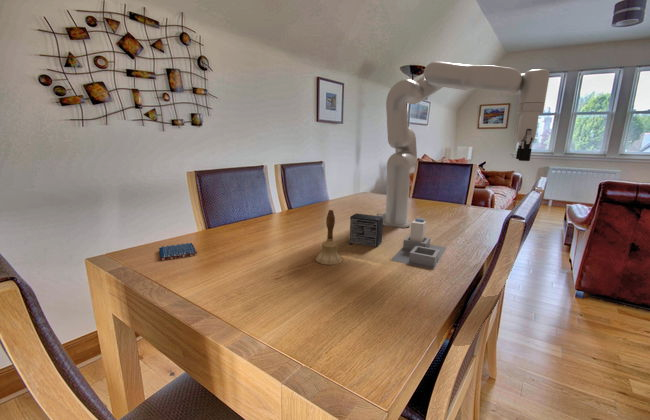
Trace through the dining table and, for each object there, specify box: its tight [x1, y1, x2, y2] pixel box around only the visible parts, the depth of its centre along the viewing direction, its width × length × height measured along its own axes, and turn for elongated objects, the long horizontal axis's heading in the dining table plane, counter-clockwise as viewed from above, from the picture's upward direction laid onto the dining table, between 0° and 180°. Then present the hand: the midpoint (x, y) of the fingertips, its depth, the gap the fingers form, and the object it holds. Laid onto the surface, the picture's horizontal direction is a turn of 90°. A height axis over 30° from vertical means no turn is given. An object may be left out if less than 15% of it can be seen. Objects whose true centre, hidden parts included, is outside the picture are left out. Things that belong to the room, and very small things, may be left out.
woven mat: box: [158, 242, 198, 262], centre depth 101 cm, size 10×11×2 cm
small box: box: [348, 213, 384, 248], centre depth 112 cm, size 11×6×10 cm, turn 65°
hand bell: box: [315, 209, 343, 266], centre depth 96 cm, size 8×8×16 cm
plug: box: [409, 217, 427, 242], centre depth 108 cm, size 4×4×10 cm
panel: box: [390, 233, 447, 270], centre depth 102 cm, size 13×22×4 cm, turn 150°
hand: (522, 160), depth 111 cm, fingers open, 9 cm apart
